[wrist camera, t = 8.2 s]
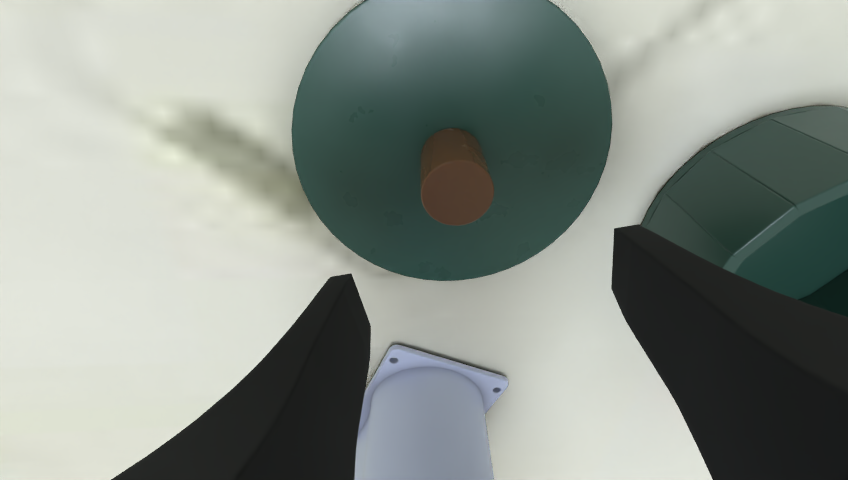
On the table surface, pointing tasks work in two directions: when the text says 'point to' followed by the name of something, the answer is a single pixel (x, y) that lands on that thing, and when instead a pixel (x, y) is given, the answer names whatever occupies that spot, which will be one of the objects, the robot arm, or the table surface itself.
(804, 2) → the table surface
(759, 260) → the pan
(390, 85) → the pan lid
